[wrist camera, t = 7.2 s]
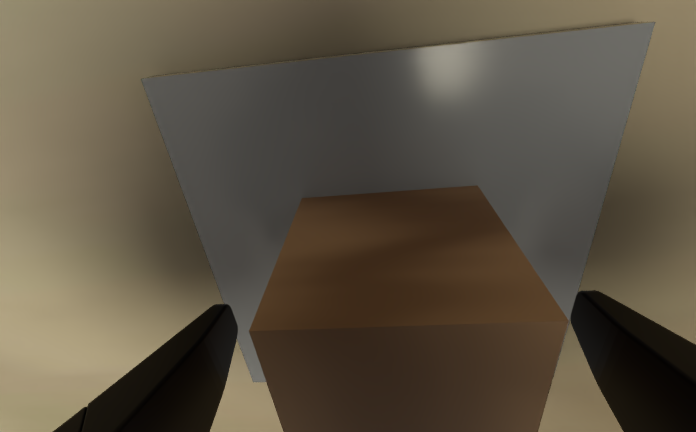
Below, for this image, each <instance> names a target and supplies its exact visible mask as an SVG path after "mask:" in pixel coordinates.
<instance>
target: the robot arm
mask: <svg viewBox="0 0 696 432" xmlns="http://www.w3.org/2000/svg"><path fill="white" fill-rule="evenodd" d="M571 324H572V326H573V329H574V331H575V333H576V336H577V338H578V340H579V343H580V345H581V348H582V350H583V352H584V355H585V357H586V359H587V362H588V364H589V366H590V369H591V371H592V373H593V375H594V378H595V380H596V382H597V384H598V386H599V388H600V390H601V392H602V394H603V395H604V397H605V399H606V401H607V403H608V404H609V406H610V408H611V410H612V412H613V413H614V415H615V417H616V419H617V421H618V422H619V424H620V426H621V428H622V430H623V431H624V432H696V345H695V344H693V343H692V342H690V341H688V340H686V339H684V338H683V337H681V336H679V335H677V334H675V333H674V332H672V331H670V330H668V329H666V328H664V327H663V326H661V325H659V324H657V323H655V322H654V321H652V320H650V319H648V318H646V317H645V316H643V315H641V314H639V313H637V312H636V311H634V310H632V309H630V308H628V307H627V306H625V305H623V304H621V303H619V302H618V301H616V300H614V299H612V298H610V297H609V296H607V295H605V294H603V293H601V292H599V291H595V290H592V291H580V292H578V293H577V295H576V298H575V301H574V305H573V308H572V312H571ZM237 335H238V325H237V322H236V319H235V317H234V314H233V311H232V308H231V306H230V305H228V304H216V305H213V306H212V307H210V308H209V309H208V310H207V311H205V312H204V313H203V314H201V315H200V316H199V317H198V318H196V319H195V320H194V321H193V322H191V323H190V324H189V325H188V326H186V327H185V328H184V329H183V330H181V331H180V332H179V333H177V334H176V335H175V336H174V337H172V338H171V339H170V340H169V341H167V342H166V343H165V344H164V345H162V346H161V347H160V348H159V349H157V350H156V351H155V352H153V353H152V354H151V355H150V356H148V357H147V358H146V359H145V360H143V361H142V362H141V363H140V364H138V365H137V366H136V367H135V368H133V369H132V370H131V371H129V372H128V373H127V374H126V375H124V376H123V377H122V378H121V379H119V380H118V381H117V382H116V383H114V384H113V385H112V386H110V387H109V388H108V389H107V390H105V391H104V392H103V393H102V394H100V395H99V396H98V397H97V398H95V399H94V400H93V401H92V402H90V403H89V404H88V406H87V407H84V408H83V409H81V410H80V411H79V412H77V413H76V414H75V415H74V416H72V417H71V418H70V419H69V420H67V421H66V422H65V423H63V424H62V425H61V426H60V427H58V428H57V429H56V430H54V431H53V432H210V429H211V426H212V423H213V420H214V417H215V415H216V412H217V409H218V406H219V403H220V400H221V398H222V394H223V391H224V388H225V385H226V381H227V377H228V373H229V368H230V364H231V360H232V356H233V352H234V347H235V343H236V339H237Z"/></svg>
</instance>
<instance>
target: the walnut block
mask: <svg viewBox="0 0 696 432" xmlns="http://www.w3.org/2000/svg"><path fill="white" fill-rule="evenodd" d="M568 322H569V320H568V319H567V317H566V316H565V314H564V313H563V311H562V310H561V308H560V307H559V305H558V304H557V302H556V301H555V299H554V298H553V296H552V295H551V294H550V292H549V291H548V289H547V288H546V286H545V285H544V283H543V282H542V280H541V279H540V277H539V276H538V274H537V273H536V271H535V270H534V268H533V267H532V265H531V264H530V262H529V261H528V259H527V258H526V256H525V255H524V253H523V252H522V250H521V249H520V247H519V246H518V245H517V243H516V242H515V240H514V239H513V237H512V236H511V234H510V233H509V231H508V230H507V228H506V227H505V225H504V224H503V222H502V221H501V219H500V218H499V216H498V215H497V213H496V212H495V210H494V209H493V207H492V206H491V204H490V203H489V201H488V200H487V198H486V197H485V196H484V194H483V193H482V191H481V190H480V188H479V187H478V185H476V186H462V187H448V188H435V189H421V190H407V191H393V192H380V193H366V194H352V195H338V196H325V197H311V198H302V199H301V202H300V204H299V207H298V209H297V212H296V214H295V217H294V219H293V222H292V224H291V227H290V229H289V232H288V234H287V237H286V239H285V242H284V244H283V247H282V249H281V252H280V254H279V257H278V259H277V262H276V264H275V267H274V269H273V272H272V274H271V277H270V279H269V282H268V284H267V287H266V289H265V292H264V294H263V297H262V299H261V302H260V304H259V307H258V309H257V312H256V314H255V317H254V320H253V322H252V325H251V327H250V330H249V333H250V336H251V339H252V342H253V345H254V348H255V350H256V353H257V356H258V359H259V362H260V365H261V368H262V371H263V374H264V376H265V379H266V382H267V385H268V388H269V391H270V394H271V397H272V399H273V402H274V405H275V408H276V411H277V414H278V417H279V420H280V423H281V425H282V428H283V431H284V432H538V429H539V426H540V422H541V418H542V415H543V411H544V408H545V404H546V401H547V397H548V393H549V390H550V386H551V383H552V379H553V376H554V372H555V368H556V365H557V361H558V358H559V354H560V351H561V347H562V343H563V340H564V336H565V333H566V329H567V326H568Z"/></svg>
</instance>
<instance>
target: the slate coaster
mask: <svg viewBox="0 0 696 432" xmlns="http://www.w3.org/2000/svg"><path fill="white" fill-rule="evenodd" d="M654 25H655V22H635V23H626V24H617V25H608V26H599V27H590V28H581V29H572V30H563V31H554V32H545V33H536V34H527V35H518V36H509V37H500V38H491V39H482V40H473V41H464V42H455V43H446V44H437V45H428V46H419V47H410V48H401V49H392V50H383V51H374V52H365V53H356V54H347V55H338V56H329V57H320V58H311V59H302V60H293V61H284V62H275V63H266V64H257V65H248V66H239V67H230V68H221V69H212V70H203V71H194V72H185V73H176V74H167V75H158V76H152V77H147V78H143V79H141V81H142V83H143V86H144V89H145V91H146V94H147V97H148V100H149V102H150V105H151V108H152V110H153V113H154V116H155V118H156V121H157V124H158V127H159V129H160V132H161V135H162V137H163V140H164V143H165V145H166V148H167V151H168V153H169V156H170V159H171V162H172V164H173V167H174V170H175V172H176V175H177V178H178V180H179V183H180V186H181V189H182V191H183V194H184V197H185V199H186V202H187V205H188V207H189V210H190V213H191V216H192V218H193V221H194V224H195V226H196V229H197V232H198V234H199V237H200V240H201V243H202V245H203V248H204V251H205V253H206V256H207V259H208V261H209V264H210V267H211V270H212V272H213V275H214V278H215V280H216V283H217V286H218V288H219V291H220V294H221V297H222V299H223V302H224V304H228V305H230V306H231V308H232V311H233V314H234V317H235V319H236V322H237V325H238V335H237V340H238V342H239V345H240V348H241V351H242V353H243V356H244V359H245V361H246V364H247V367H248V369H249V372H250V375H251V377H252V380H253V382H266V379H265V376H264V374H263V371H262V368H261V365H260V362H259V359H258V356H257V353H256V350H255V348H254V345H253V342H252V339H251V336H250V333H249V330H250V327H251V325H252V322H253V320H254V317H255V314H256V312H257V309H258V307H259V304H260V302H261V299H262V297H263V294H264V292H265V289H266V287H267V284H268V282H269V279H270V277H271V274H272V272H273V269H274V267H275V264H276V262H277V259H278V257H279V254H280V252H281V249H282V247H283V244H284V242H285V239H286V237H287V234H288V232H289V229H290V227H291V224H292V222H293V219H294V217H295V214H296V212H297V209H298V207H299V204H300V202H301V199H302V198H311V197H325V196H338V195H352V194H366V193H380V192H393V191H407V190H421V189H435V188H448V187H462V186H476V185H478V187H479V188H480V190H481V191H482V193H483V194H484V196H485V197H486V198H487V200H488V201H489V203H490V204H491V206H492V207H493V209H494V210H495V212H496V213H497V215H498V216H499V218H500V219H501V221H502V222H503V224H504V225H505V227H506V228H507V230H508V231H509V233H510V234H511V236H512V237H513V239H514V240H515V242H516V243H517V245H518V246H519V247H520V249H521V250H522V252H523V253H524V255H525V256H526V258H527V259H528V261H529V262H530V264H531V265H532V267H533V268H534V270H535V271H536V273H537V274H538V276H539V277H540V279H541V280H542V282H543V283H544V285H545V286H546V288H547V289H548V291H549V292H550V294H551V295H552V296H553V298H554V299H555V301H556V302H557V304H558V305H559V307H560V308H561V310H562V311H563V313H564V314H565V316H566V317H567V319H568V320H569V321H570V318H571V312H572V308H573V305H574V301H575V298H576V295H577V293H578V290H579V286H580V283H581V279H582V276H583V272H584V269H585V265H586V262H587V258H588V255H589V251H590V248H591V244H592V241H593V237H594V234H595V230H596V227H597V224H598V220H599V217H600V213H601V210H602V206H603V203H604V199H605V196H606V192H607V189H608V185H609V182H610V178H611V175H612V171H613V168H614V164H615V161H616V157H617V154H618V150H619V147H620V143H621V140H622V136H623V133H624V129H625V126H626V122H627V119H628V115H629V112H630V108H631V105H632V101H633V98H634V94H635V91H636V87H637V84H638V80H639V77H640V73H641V70H642V66H643V63H644V60H645V56H646V53H647V49H648V46H649V42H650V39H651V35H652V32H653V28H654ZM568 325H569V322H568ZM567 328H568V326H567ZM566 332H567V329H566ZM565 335H566V333H565ZM564 339H565V336H564ZM563 342H564V340H563ZM562 346H563V343H562ZM561 349H562V347H561ZM560 353H561V351H560ZM559 356H560V354H559ZM558 360H559V358H558ZM557 363H558V361H557ZM556 367H557V365H556ZM555 370H556V368H555ZM554 374H555V372H554ZM553 377H554V376H553Z"/></svg>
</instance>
